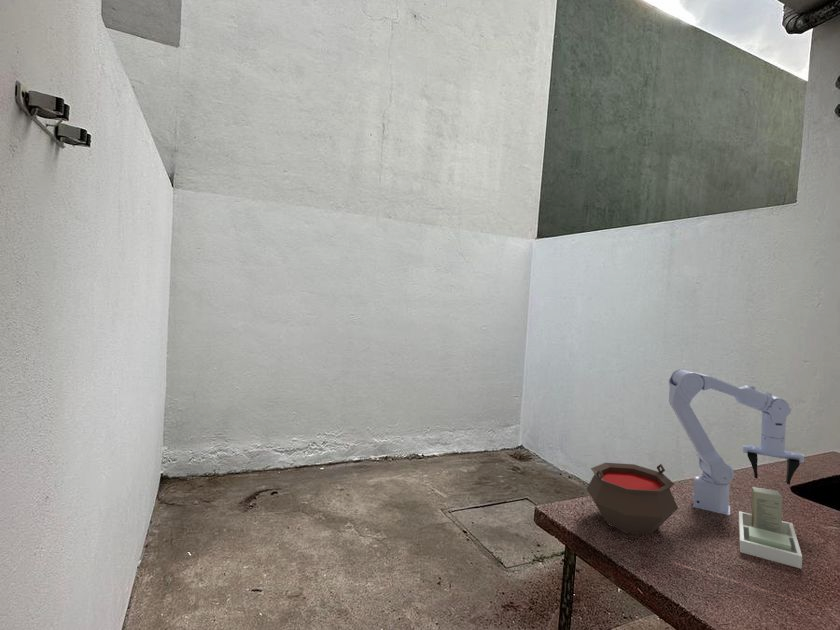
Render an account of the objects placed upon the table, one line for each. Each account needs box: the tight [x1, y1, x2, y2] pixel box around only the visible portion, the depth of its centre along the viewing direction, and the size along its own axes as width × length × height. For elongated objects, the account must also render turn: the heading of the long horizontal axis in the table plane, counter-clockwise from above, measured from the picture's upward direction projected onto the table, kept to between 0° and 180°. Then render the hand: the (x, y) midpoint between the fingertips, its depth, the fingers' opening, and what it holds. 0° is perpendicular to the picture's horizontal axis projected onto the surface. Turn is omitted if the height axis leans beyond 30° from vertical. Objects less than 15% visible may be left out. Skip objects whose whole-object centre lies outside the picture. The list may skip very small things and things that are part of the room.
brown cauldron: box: [586, 462, 679, 536], centre depth 129 cm, size 24×24×16 cm
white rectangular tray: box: [738, 510, 803, 570], centre depth 118 cm, size 12×20×4 cm, turn 145°
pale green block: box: [749, 526, 791, 552], centre depth 114 cm, size 8×6×4 cm
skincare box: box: [751, 486, 783, 534], centre depth 122 cm, size 6×4×12 cm
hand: (771, 480), depth 136 cm, fingers open, 7 cm apart
